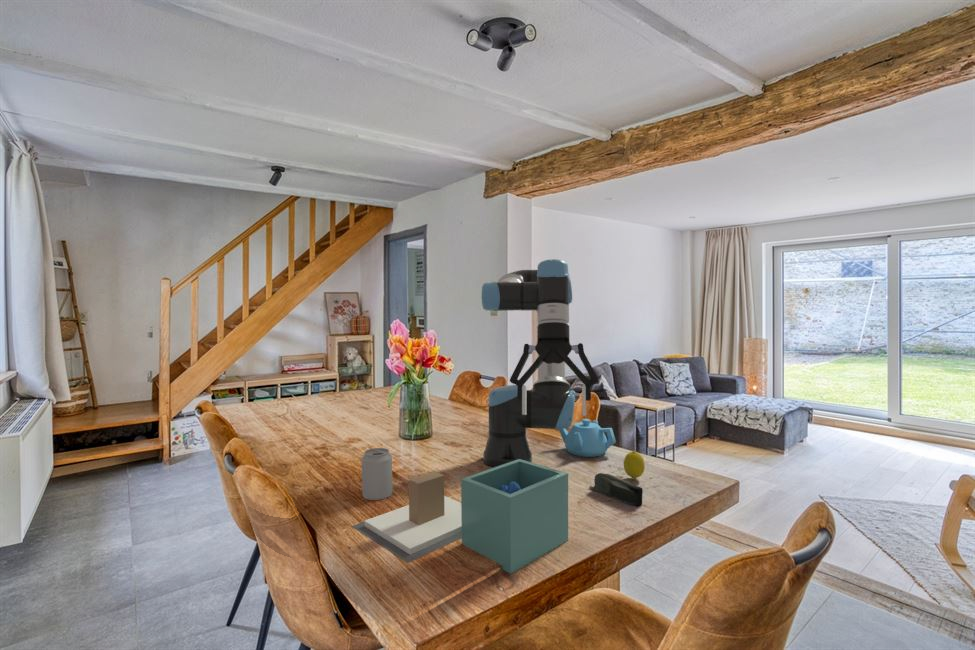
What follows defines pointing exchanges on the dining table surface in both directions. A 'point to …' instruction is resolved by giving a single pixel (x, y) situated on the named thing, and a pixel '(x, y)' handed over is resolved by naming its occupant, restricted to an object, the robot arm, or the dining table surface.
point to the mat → (400, 552)
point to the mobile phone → (618, 489)
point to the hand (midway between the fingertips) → (554, 415)
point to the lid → (420, 516)
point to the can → (376, 474)
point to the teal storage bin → (515, 513)
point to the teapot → (587, 439)
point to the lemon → (634, 464)
